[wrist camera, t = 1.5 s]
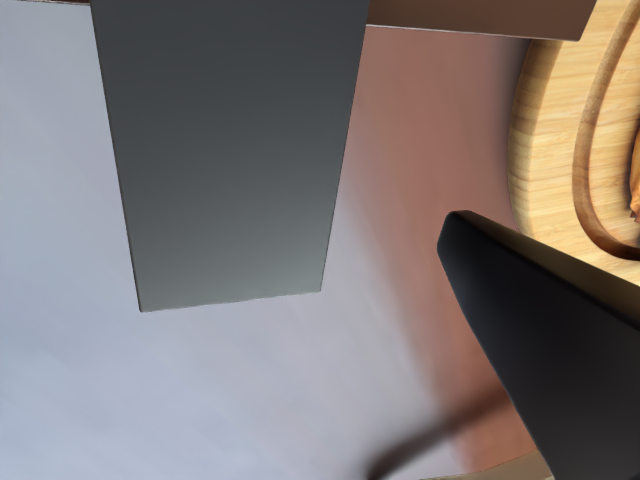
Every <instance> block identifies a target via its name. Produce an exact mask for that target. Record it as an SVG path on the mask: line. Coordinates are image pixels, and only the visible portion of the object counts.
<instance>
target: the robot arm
mask: <svg viewBox="0 0 640 480" xmlns="http://www.w3.org/2000/svg"><path fill="white" fill-rule="evenodd" d="M437 253H438V256H439V258H440V261H441V263H442V265H443V268H444V270H445V272H446V275H447V277H448V279H449V282H450V284H451V287H452V289H453V291H454V294H455V296H456V298H457V301H458V303H459V305H460V308H461V310H462V312H463V314H464V316H465V318H466V320H467V322H468V324H469V325H470V327H471V329H472V331H473V333H474V335H475V336H476V338H477V340H478V342H479V344H480V345H481V347H482V349H483V351H484V353H485V354H486V356H487V358H488V360H489V362H490V363H491V365H492V367H493V369H494V371H495V372H496V374H497V376H498V378H499V380H500V381H501V383H502V385H503V387H504V389H505V391H506V392H507V394H508V396H509V398H510V400H511V401H512V403H513V405H514V407H515V409H516V410H517V412H518V414H519V416H520V418H521V419H522V421H523V423H524V425H525V427H526V428H527V430H528V432H529V434H530V436H531V438H532V439H533V441H534V443H535V445H536V447H537V448H538V450H539V452H540V454H541V456H542V457H543V459H544V461H545V463H546V465H547V466H548V468H549V470H550V472H551V474H552V475H553V477H554V479H555V480H640V286H638V285H636V284H634V283H631V282H629V281H627V280H625V279H622V278H620V277H618V276H616V275H613V274H611V273H609V272H607V271H604V270H602V269H600V268H598V267H595V266H593V265H591V264H589V263H586V262H584V261H582V260H580V259H577V258H575V257H573V256H571V255H568V254H566V253H564V252H562V251H559V250H557V249H555V248H553V247H550V246H548V245H546V244H544V243H541V242H539V241H537V240H535V239H532V238H530V237H528V236H526V235H523V234H521V233H519V232H517V231H514V230H512V229H510V228H508V227H505V226H503V225H501V224H499V223H496V222H494V221H492V220H490V219H487V218H485V217H483V216H481V215H478V214H476V213H474V212H472V211H469V210H462V211H452V212H450V213H449V214H448V215H447V216H446V218H445V221H444V224H443V227H442V230H441V233H440V236H439V239H438V242H437Z"/></svg>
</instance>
